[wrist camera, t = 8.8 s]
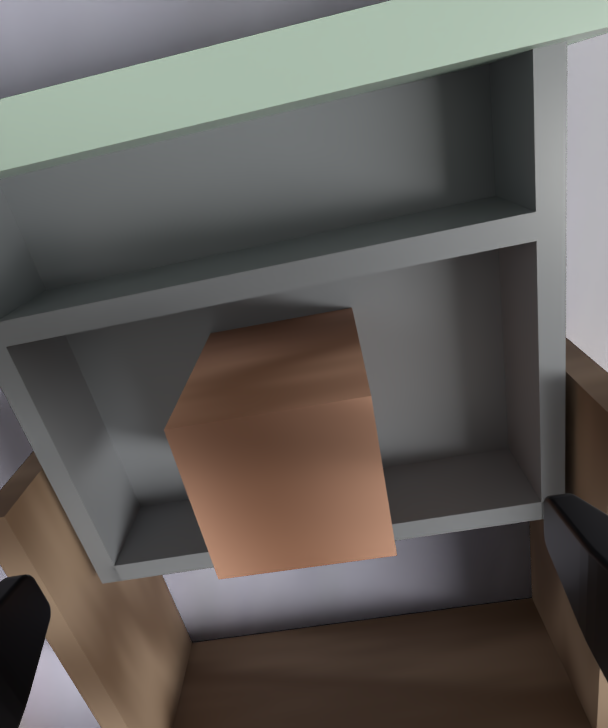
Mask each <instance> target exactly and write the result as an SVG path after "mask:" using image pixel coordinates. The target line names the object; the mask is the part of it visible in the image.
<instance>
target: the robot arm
mask: <svg viewBox="0 0 608 728" xmlns="http://www.w3.org/2000/svg"><path fill="white" fill-rule="evenodd" d="M543 508H544V538H545V543H546V546H547V549H548V552H549V554H550V556H551V559H552V561H553V564H554V566H555V569H556V571H557V573H558V576H559V578H560V581H561V583H562V586H563V588H564V590H565V593H566V595H567V598H568V600H569V603H570V605H571V607H572V610H573V612H574V615H575V617H576V620H577V622H578V624H579V627H580V629H581V631H582V634H583V636H584V638H585V641H586V642H587V644H588V646H589V648H590V650H591V652H592V654H593V656H594V658H595V660H596V662H597V664H598V666H599V667H600V669H601V671H602V673H603V675H604V677H605V678H606V680H607V682H608V515H607V514H606V513H604V512H602V511H601V510H599V509H597V508H596V507H594V506H592V505H591V504H589V503H587V502H586V501H584V500H583V499H581V498H579V497H578V496H576V495H574V494H571V493H564V494H557V495H550V496H547V497H546V498H545V500H544V504H543ZM50 618H51V608H50V604H49V602H48V601H47V599H46V597H45V595H44V594H43V592H42V590H41V589H40V587H39V585H38V584H37V582H36V580H35V579H34V578H33V577H32V576H31V575H27V574H24V575H17V576H11V577H7V578H5V579H3V580H2V581H1V582H0V728H18V727H19V725H20V722H21V719H22V716H23V713H24V710H25V707H26V704H27V701H28V697H29V694H30V691H31V687H32V684H33V680H34V676H35V673H36V669H37V666H38V662H39V658H40V655H41V651H42V648H43V644H44V640H45V637H46V633H47V630H48V626H49V622H50Z"/></svg>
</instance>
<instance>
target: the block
mask: <svg viewBox="0 0 608 728" xmlns="http://www.w3.org/2000/svg"><path fill="white" fill-rule="evenodd" d="M164 432H165V435H166V437H167V440H168V443H169V445H170V448H171V451H172V454H173V456H174V459H175V462H176V465H177V467H178V470H179V473H180V475H181V478H182V481H183V484H184V486H185V489H186V492H187V495H188V497H189V500H190V503H191V505H192V508H193V511H194V514H195V516H196V519H197V522H198V525H199V527H200V530H201V533H202V535H203V538H204V541H205V544H206V546H207V549H208V552H209V555H210V557H211V560H212V563H213V565H214V568H215V571H216V574H217V576H218V579H225V578H233V577H240V576H248V575H255V574H263V573H270V572H277V571H285V570H292V569H300V568H307V567H315V566H322V565H330V564H337V563H345V562H352V561H359V560H367V559H374V558H382V557H389V556H397V553H396V546H395V540H394V534H393V528H392V522H391V515H390V509H389V503H388V497H387V491H386V484H385V478H384V472H383V466H382V460H381V453H380V447H379V441H378V435H377V429H376V422H375V416H374V410H373V404H372V398H371V393H370V388H369V383H368V379H367V374H366V369H365V365H364V360H363V356H362V351H361V346H360V342H359V337H358V333H357V328H356V323H355V319H354V314H353V310H352V308H347V309H342V310H336V311H331V312H325V313H320V314H314V315H309V316H303V317H298V318H292V319H287V320H281V321H275V322H270V323H264V324H259V325H253V326H248V327H242V328H237V329H231V330H226V331H220V332H215V333H210V335H209V338H208V340H207V342H206V344H205V346H204V348H203V350H202V352H201V354H200V356H199V358H198V360H197V362H196V364H195V367H194V369H193V371H192V373H191V375H190V377H189V379H188V381H187V383H186V385H185V387H184V389H183V391H182V393H181V395H180V398H179V400H178V402H177V404H176V406H175V408H174V410H173V412H172V414H171V416H170V418H169V420H168V422H167V424H166V427H165V429H164Z"/></svg>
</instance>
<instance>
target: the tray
mask: <svg viewBox="0 0 608 728" xmlns="http://www.w3.org/2000/svg"><path fill="white" fill-rule="evenodd" d="M606 33H608V0H390V1H386V2H383V3H379V4H375V5H371V6H367V7H363V8H359V9H355V10H351V11H347V12H343V13H339V14H335V15H331V16H327V17H323V18H319V19H315V20H311V21H307V22H303V23H299V24H295V25H291V26H288V27H284V28H280V29H276V30H272V31H268V32H264V33H260V34H256V35H252V36H248V37H244V38H240V39H236V40H232V41H228V42H224V43H220V44H216V45H212V46H208V47H204V48H200V49H196V50H192V51H189V52H185V53H181V54H177V55H173V56H169V57H165V58H161V59H157V60H153V61H149V62H145V63H141V64H137V65H133V66H129V67H125V68H121V69H117V70H113V71H109V72H105V73H101V74H97V75H94V76H90V77H86V78H82V79H78V80H74V81H70V82H66V83H62V84H58V85H54V86H50V87H46V88H42V89H38V90H34V91H30V92H26V93H22V94H18V95H14V96H10V97H6V98H2V99H0V387H1V389H2V391H3V393H4V395H5V397H6V399H7V401H8V403H9V404H10V406H11V408H12V410H13V412H14V414H15V416H16V418H17V420H18V422H19V424H20V426H21V428H22V430H23V431H24V433H25V435H26V437H27V439H28V441H29V443H30V445H31V447H32V449H33V451H34V453H35V455H36V457H37V458H38V460H39V462H40V464H41V466H42V468H43V470H44V472H45V474H46V476H47V478H48V480H49V482H50V484H51V485H52V487H53V489H54V491H55V493H56V495H57V497H58V499H59V501H60V503H61V505H62V507H63V509H64V511H65V512H66V514H67V516H68V518H69V520H70V522H71V524H72V526H73V528H74V530H75V532H76V534H77V536H78V538H79V540H80V541H81V543H82V545H83V547H84V549H85V551H86V553H87V555H88V557H89V559H90V561H91V563H92V565H93V567H94V568H95V570H96V572H97V574H98V576H99V578H100V580H101V582H102V584H104V583H111V582H117V581H124V580H131V579H138V578H145V577H152V576H158V575H165V574H172V573H179V572H186V571H192V570H199V569H206V568H213V567H214V565H213V563H212V560H211V557H210V555H209V552H208V549H207V546H206V544H205V541H204V538H203V535H202V533H201V530H200V527H199V525H198V522H197V519H196V516H195V514H194V511H193V508H192V505H191V503H190V500H189V497H188V495H187V492H186V489H185V486H184V484H183V481H182V478H181V475H180V473H179V470H178V467H177V465H176V462H175V459H174V456H173V454H172V451H171V448H170V445H169V443H168V440H167V437H166V435H165V432H164V429H165V427H166V424H167V422H168V420H169V418H170V416H171V414H172V412H173V410H174V408H175V406H176V404H177V402H178V400H179V398H180V395H181V393H182V391H183V389H184V387H185V385H186V383H187V381H188V379H189V377H190V375H191V373H192V371H193V369H194V367H195V364H196V362H197V360H198V358H199V356H200V354H201V352H202V350H203V348H204V346H205V344H206V342H207V340H208V338H209V335H210V333H215V332H220V331H226V330H231V329H237V328H242V327H248V326H253V325H259V324H264V323H270V322H275V321H281V320H287V319H292V318H298V317H303V316H309V315H314V314H320V313H325V312H331V311H336V310H342V309H347V308H352V310H353V314H354V319H355V323H356V328H357V333H358V337H359V342H360V346H361V351H362V356H363V360H364V365H365V369H366V374H367V379H368V383H369V388H370V393H371V398H372V404H373V410H374V416H375V422H376V429H377V435H378V441H379V447H380V453H381V460H382V466H383V472H384V478H385V484H386V491H387V497H388V503H389V509H390V515H391V522H392V528H393V534H394V540H395V541H397V540H404V539H411V538H418V537H424V536H431V535H438V534H445V533H452V532H458V531H465V530H472V529H479V528H486V527H493V526H499V525H506V524H513V523H520V522H527V521H533V520H540V519H544V508H543V504H544V500H545V498H546V497H547V496H550V495H557V494H564V493H565V386H566V191H567V45H570V44H573V43H577V42H580V41H583V40H586V39H590V38H593V37H596V36H600V35H603V34H606Z"/></svg>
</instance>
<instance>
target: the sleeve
mask: <svg viewBox="0 0 608 728" xmlns="http://www.w3.org/2000/svg"><path fill="white" fill-rule="evenodd" d="M565 493H571V494H574V495H576V496H578V497H579V498H581V499H583V500H584V501H586V502H587V503H589V504H591V505H592V506H594V507H596V508H597V509H599V510H601V511H602V512H604V513H606V514H607V515H608V372H606V371H605V370H604V369H603V368H602V367H600V366H599V365H598V364H597V363H596V362H595V361H593V360H592V359H591V358H590V357H589V356H587V355H586V354H585V353H584V352H583V351H581V350H580V349H579V348H578V347H577V346H576V345H574V344H573V343H572V342H571V341H570V340H568V339H567V338H566V386H565ZM529 523H530V554H531V585H532V598H528V599H521V600H513V601H505V602H498V603H490V604H483V605H475V606H467V607H460V608H452V609H445V610H437V611H430V612H422V613H414V614H407V615H399V616H392V617H384V618H376V619H369V620H361V621H354V622H346V623H339V624H331V625H323V626H316V627H308V628H301V629H293V630H285V631H278V632H270V633H263V634H255V635H248V636H240V637H232V638H225V639H217V640H210V641H202V642H194V643H192V641H191V639H190V637H189V634H188V632H187V630H186V628H185V625H184V623H183V621H182V619H181V616H180V614H179V612H178V610H177V607H176V605H175V603H174V601H173V598H172V596H171V594H170V592H169V589H168V587H167V585H166V583H165V581H164V578H163V576H162V575H158V576H152V577H145V578H138V579H131V580H124V581H117V582H111V583H104V584H102V582H101V580H100V578H99V576H98V574H97V572H96V570H95V568H94V567H93V565H92V563H91V561H90V559H89V557H88V555H87V553H86V551H85V549H84V547H83V545H82V543H81V541H80V540H79V538H78V536H77V534H76V532H75V530H74V528H73V526H72V524H71V522H70V520H69V518H68V516H67V514H66V512H65V511H64V509H63V507H62V505H61V503H60V501H59V499H58V497H57V495H56V493H55V491H54V489H53V487H52V485H51V484H50V482H49V480H48V478H47V476H46V474H45V472H44V470H43V468H42V466H41V464H40V462H39V460H38V458H37V457H36V455H35V453H34V451H33V452H32V453H31V455H30V456H29V457H28V458H27V459H26V460H25V462H24V463H23V464H22V465H21V466H20V467H19V469H18V470H17V471H16V472H15V473H14V475H13V476H12V477H11V478H10V479H9V480H8V482H7V483H6V484H5V485H4V486H3V487H2V489H1V490H0V565H1V567H2V568H3V570H4V572H5V573H6V575H7V577H11V576H17V575H24V574H27V575H31V576H32V577H33V578H34V579H35V580H36V582H37V584H38V585H39V587H40V589H41V590H42V592H43V594H44V595H45V597H46V599H47V601H48V602H49V604H50V608H51V618H50V622H49V626H48V630H47V633H46V637H45V638H46V639H47V641H48V643H49V644H50V646H51V647H52V649H53V651H54V652H55V654H56V655H57V657H58V659H59V660H60V662H61V664H62V665H63V667H64V668H65V670H66V672H67V673H68V675H69V676H70V678H71V680H72V681H73V683H74V684H75V686H76V688H77V689H78V691H79V693H80V694H81V696H82V697H83V699H84V701H85V702H86V704H87V705H88V707H89V709H90V710H91V712H92V713H93V715H94V717H95V718H96V720H97V722H98V723H99V725H100V726H101V728H608V682H607V680H606V678H605V677H604V675H603V673H602V671H601V669H600V667H599V666H598V664H597V662H596V660H595V658H594V656H593V654H592V652H591V650H590V648H589V646H588V644H587V642H586V641H585V638H584V636H583V634H582V631H581V629H580V627H579V624H578V622H577V620H576V617H575V615H574V612H573V610H572V607H571V605H570V603H569V600H568V598H567V595H566V593H565V590H564V588H563V586H562V583H561V581H560V578H559V576H558V573H557V571H556V569H555V566H554V564H553V561H552V559H551V556H550V554H549V552H548V549H547V546H546V543H545V538H544V519H540V520H533V521H529Z"/></svg>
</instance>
